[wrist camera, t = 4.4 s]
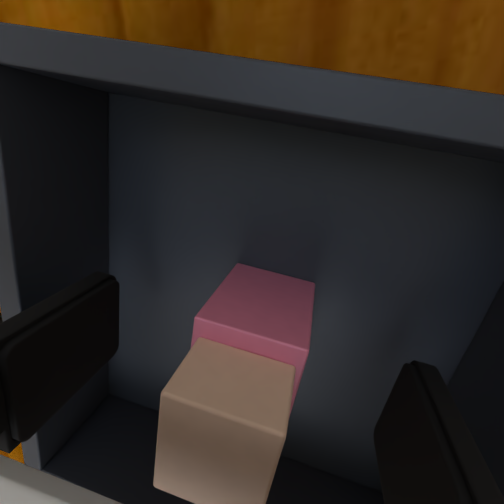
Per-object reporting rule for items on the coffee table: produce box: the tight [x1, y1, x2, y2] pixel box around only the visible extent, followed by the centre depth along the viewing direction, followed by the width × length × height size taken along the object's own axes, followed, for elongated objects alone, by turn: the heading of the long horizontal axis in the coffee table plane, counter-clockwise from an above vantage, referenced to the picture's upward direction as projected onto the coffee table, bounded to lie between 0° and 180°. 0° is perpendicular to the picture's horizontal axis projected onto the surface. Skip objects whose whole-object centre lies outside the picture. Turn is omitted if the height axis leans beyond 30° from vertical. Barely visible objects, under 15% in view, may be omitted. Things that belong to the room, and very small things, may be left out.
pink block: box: [153, 263, 315, 504], centre depth 9 cm, size 3×4×6 cm
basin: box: [0, 22, 504, 504], centre depth 10 cm, size 16×16×5 cm
